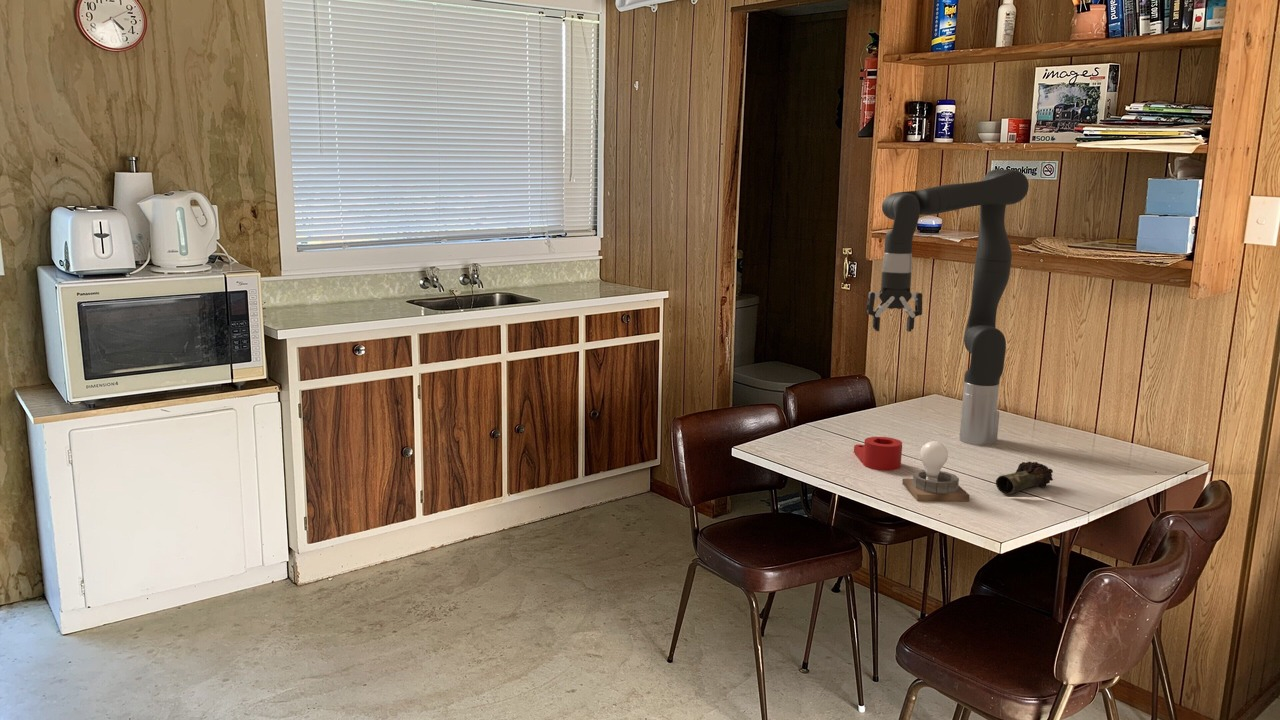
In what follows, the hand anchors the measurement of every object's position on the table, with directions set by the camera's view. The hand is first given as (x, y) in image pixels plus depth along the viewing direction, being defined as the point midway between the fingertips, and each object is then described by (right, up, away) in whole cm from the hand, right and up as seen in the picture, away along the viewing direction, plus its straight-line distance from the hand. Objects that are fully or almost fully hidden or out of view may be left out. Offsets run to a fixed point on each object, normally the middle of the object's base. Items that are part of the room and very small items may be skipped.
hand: (892, 331), depth 257 cm
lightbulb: (+2, -38, -28) cm, 47 cm away
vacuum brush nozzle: (+20, -42, -28) cm, 54 cm away
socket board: (+3, -39, -28) cm, 48 cm away
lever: (-6, -35, -3) cm, 35 cm away
